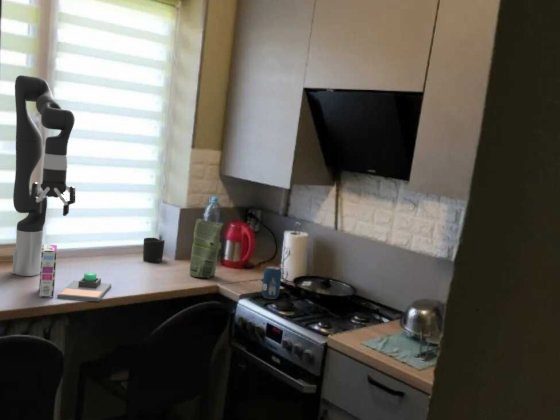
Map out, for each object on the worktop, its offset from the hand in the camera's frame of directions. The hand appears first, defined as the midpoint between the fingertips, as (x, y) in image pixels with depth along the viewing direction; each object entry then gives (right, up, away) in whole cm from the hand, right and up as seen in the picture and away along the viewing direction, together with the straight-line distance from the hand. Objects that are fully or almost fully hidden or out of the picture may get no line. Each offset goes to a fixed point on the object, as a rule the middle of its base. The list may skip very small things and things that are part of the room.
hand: (52, 214), depth 196 cm
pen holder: (+19, -22, +68) cm, 74 cm away
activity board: (+8, -28, +9) cm, 31 cm away
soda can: (+75, -33, +29) cm, 87 cm away
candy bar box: (-3, -28, +3) cm, 28 cm away
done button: (+8, -25, +14) cm, 30 cm away
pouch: (+46, -27, +50) cm, 73 cm away
